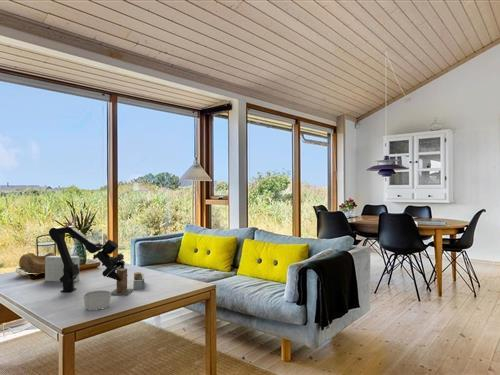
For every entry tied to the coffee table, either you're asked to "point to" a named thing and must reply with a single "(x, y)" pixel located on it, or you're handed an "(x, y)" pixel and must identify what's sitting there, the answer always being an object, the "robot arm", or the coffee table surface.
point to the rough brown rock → (34, 262)
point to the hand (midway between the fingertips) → (123, 278)
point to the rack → (139, 282)
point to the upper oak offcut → (137, 276)
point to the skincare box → (57, 267)
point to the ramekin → (97, 299)
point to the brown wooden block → (122, 280)
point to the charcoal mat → (122, 293)
